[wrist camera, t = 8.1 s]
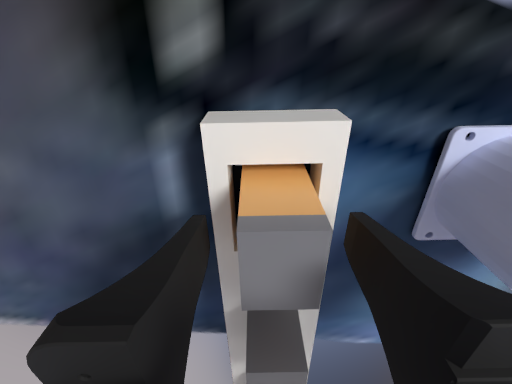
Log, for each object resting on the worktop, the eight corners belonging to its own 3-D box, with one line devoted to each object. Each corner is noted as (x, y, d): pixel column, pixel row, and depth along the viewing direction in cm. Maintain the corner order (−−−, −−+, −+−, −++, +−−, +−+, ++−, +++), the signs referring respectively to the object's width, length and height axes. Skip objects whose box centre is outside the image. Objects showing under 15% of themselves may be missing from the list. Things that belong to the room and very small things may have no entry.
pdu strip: (336, 109, 14) (402, 157, 8) (300, 370, 28) (313, 461, 22) (208, 111, 14) (172, 162, 8) (236, 371, 28) (232, 463, 22)
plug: (300, 157, 15) (333, 230, 9) (295, 218, 17) (319, 309, 11) (242, 158, 15) (236, 232, 9) (245, 219, 17) (241, 310, 11)
